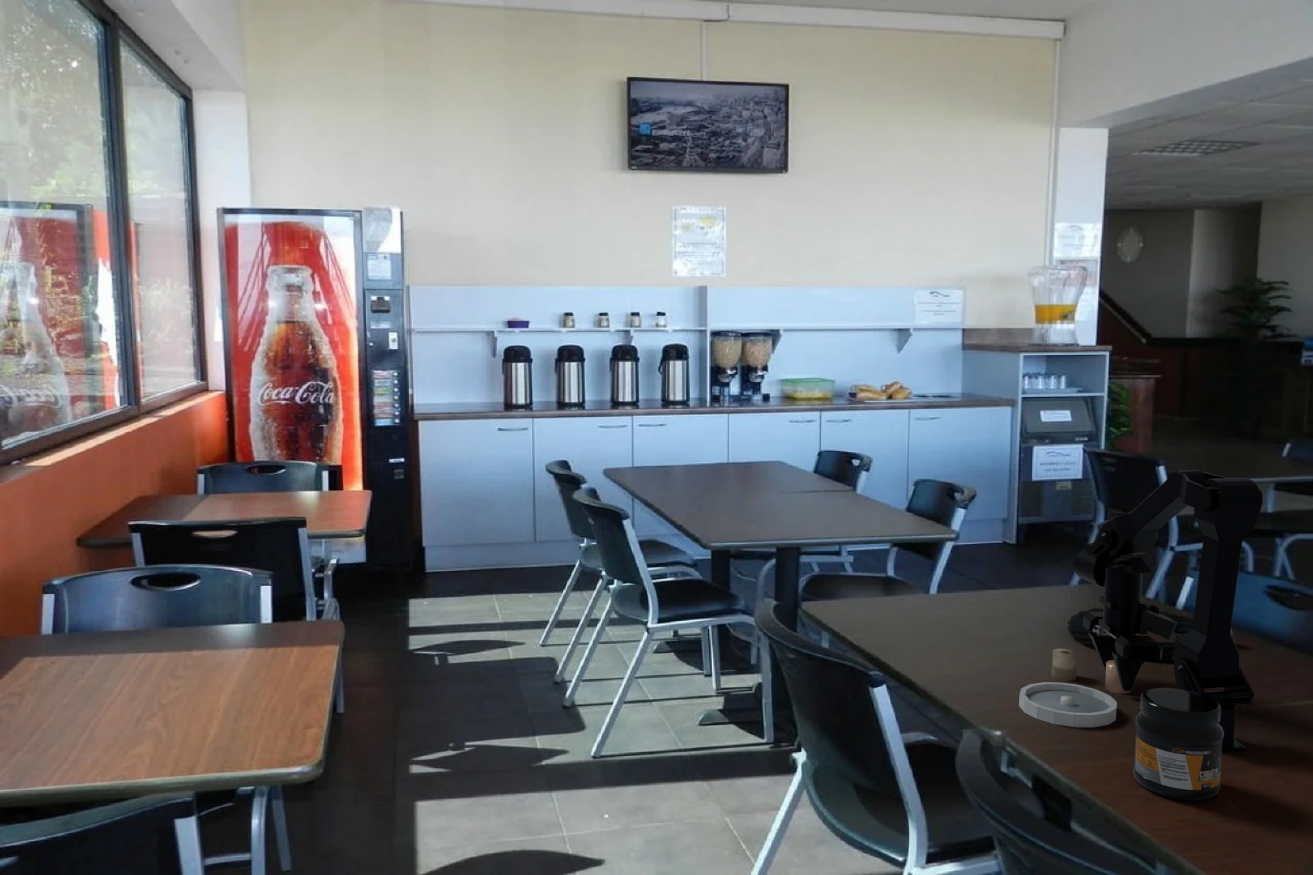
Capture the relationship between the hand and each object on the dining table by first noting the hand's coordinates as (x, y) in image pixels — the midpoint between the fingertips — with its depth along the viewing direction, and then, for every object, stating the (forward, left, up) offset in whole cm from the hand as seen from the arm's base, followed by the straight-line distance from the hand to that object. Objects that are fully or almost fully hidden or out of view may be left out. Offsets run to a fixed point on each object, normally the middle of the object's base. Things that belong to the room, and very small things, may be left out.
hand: (1118, 683), depth 173 cm
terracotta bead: (0, 0, -1) cm, 1 cm away
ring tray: (-10, +12, -1) cm, 16 cm away
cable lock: (+28, -17, -2) cm, 33 cm away
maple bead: (+6, +7, -1) cm, 9 cm away
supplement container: (-37, +7, -1) cm, 38 cm away
